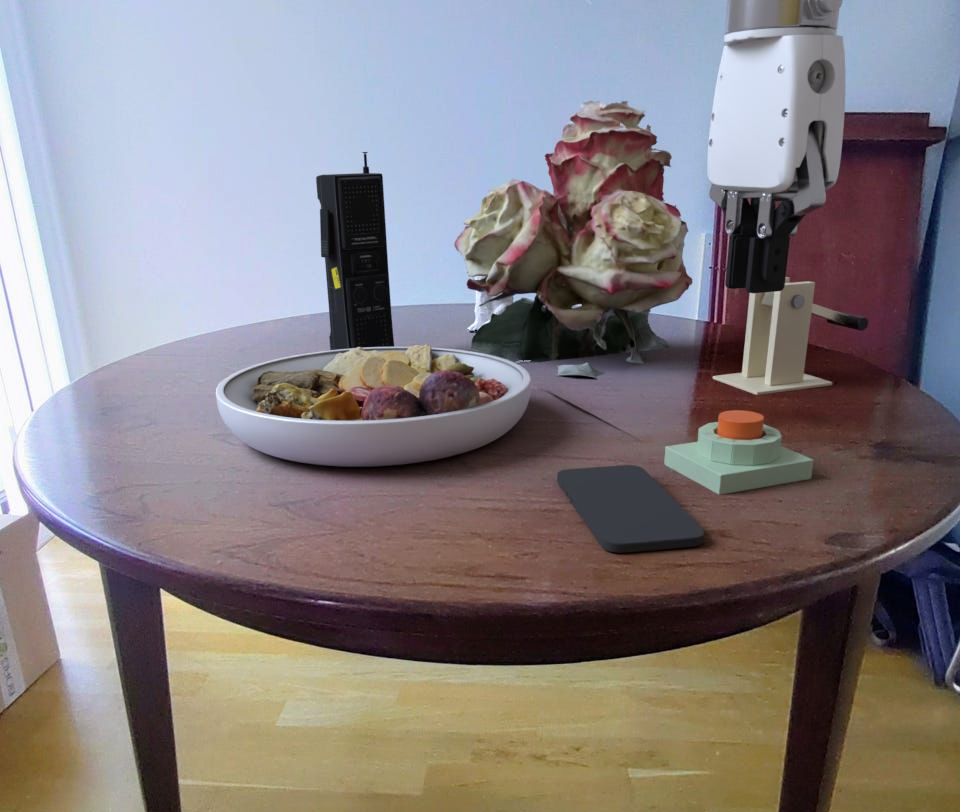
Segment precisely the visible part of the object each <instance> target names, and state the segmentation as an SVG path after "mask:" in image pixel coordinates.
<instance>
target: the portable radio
mask: <svg viewBox="0 0 960 812" xmlns="http://www.w3.org/2000/svg"><path fill="white" fill-rule="evenodd" d="M361 153H362V154H363V162H364V163H363V164H364V165H363V166H362V172H360V173H357V172H356V173H332V174H331V173H330V174H319V175H317V176H315V182H316V195H317V197H316V198H317V200H318V201H319V204H320V209H319V226H320V227H319V228H320V257H321V258H324V264H325V275H326V290H327V301H328V314H329V316H328V317H329V328H330V329H329V330H330V333H329V337H328V339H329V350H339V349H350V348H357V347H362V348H366V347H395V340H394V339H395V338H394V328H393V327H394V326H393V315H392V303H391V302H392V301H391V289H390V288H391V287H390V274H389V258H388V243H387V241H388V240H387V227H386V226H387V225H386V210H385V194H384V177H383V176H384V175H383V173H381V172H380V173H379V172H374V173H373V172H370V167H369V166H368V157H367V154H368V153H369V151H362V152H361Z"/></svg>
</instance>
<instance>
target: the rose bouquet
mask: <svg viewBox="0 0 960 812" xmlns="http://www.w3.org/2000/svg"><path fill="white" fill-rule="evenodd" d="M628 103H629V101H628V100H625V101H624V100H623V101H620V102H612V103H611V102H610V104H608V103H603V102H602V101H601V100H596V101H593V100H588V101H585V102H583V103H579V106H580V107H579V110H578V111H576V113H575V114H573V115H571V116H570V118H569V121H568V122H567V123H566V124H565V125H564V127H563V129H562V134H561V137H562V138H561V139H559V140H558V141H557V142H556V143H555V146H554V152H553V151H552V152H551V153H545V154H544V160H545V162H546V165H547V167H548V170H547V172H548V173H547V174H548V176H549V177H550V182H551V186H552V191H553V193H551V192H549V191H548V190H546V189H540V188H538V187H536V185H533V184H532V183H530V182H528V181H525V180H522V179H517V178H512V179H511V180H509V181H507V182H506V183H503V184H502V185H500V186H497V187H493V188H492V189H489V190H488V191H487V192H488V193H487V195H486V196H485V197H484V198H482V200H481V203H480V206H479V211H478V212H477V213H476V214H474V215H473V216H472V217H469V218H467V219H466V220H464V221H463V222H462V224H463V225H466V226H464V229H463V231H462V232H460V233H459V235H458V236H457V237H456V239H455V240H454V248H455V250H456V251H457V252H459V254H460V253H461V254H462V255H461V254H460V255H461V257H462V259H463V261H464V263H465V268H466V274H467V277H470V278H468V279H467V281H466V288H467V289H469V290H473V291H476V290H477V291H478V292H483V291H486V292H488V293H487V296H490V297H492V296H497V295H499V294H500V293H502V294H501V295H499V296H497V297H495V298H493V299H490V300H488V301H486V302H485V303H483V304H480V305H479V306H483V305H484V304H486V303H488V302H492V301H495V300H497V301H499V300H503V299H506V298H508V297H511V296H513V297H514V296H516V295H527V294H536V295H535V296H534V298H533V299H534V300H533V299H530V298H527V297H520V299H518V300H515V301H513V303H512V304H511V305H508V306H506V309H505V310H504V311H503V312H502V313H501V314H500V315H496V314H494V313H493V314H492V315H491V320H490V322H489V323H486V324H484V325H482V326H481V327H480V328H479V329H478V330H477V331H475V334H474V335H473V336H472V339H471V343H470V344H471V345H470V349H469V351H472V352H478V353H483V354H488V355H493V356H496V357H500V358H503V359H506V360H509V361H512V362H516V361H519V360H523V361H524V360H531V361H530V362H520V363H516V364H518V365H526V364H535V363H543V362H545V363H546V362H554V361H562V360H572V359H581V358H590V357H601V356H611V355H618V354H628V353H631V355H630V356H628V357H627V358H626V362H628V363H632V364H633V363H635V364H646V363H647V362H648V358H646V357H645V356H643V354H642V353H640V352H645V351H646V352H647V351H655V350H656V351H657V350H664V349H665V350H666V349H668V348H670V347H669V345H668V343H667V342H668V341H667V340H666V339H664V338H663V337H660V336H658V335H657V334H656V332H654V331H653V330H652V328H651V326H650V323H649V314H650V313H651V309H653V308H656V307H659V306H663V305H666V304H670V303H673V302H676V301H678V300H679V299H681V297H682V296H683V294H684V293H686V291H687V290H689V288H690V286H691V285H692V284H693V278H692V277H691V276H690V275H689V274H688V273H687V268H686V266H685V264H684V263H685V262H684V258H683V254H684V247H685V238H686V235H687V234H688V232H689V228H688V225H687V222H685V221H683V220H682V218H681V217H682V215H681V211H680V210H679V209H678V207H677V204H675V205H673V204H670V203H667V202H665V201H666V200H665V198H664V194H665V193H664V181H665V176H664V173H665V167H669V168H672V166H671V160H672V158H673V156H672V154H671V153H670V152H669V151H668V150H664V149H658V148H653V146H655V145H657V143H659V141H657V138H658V136H657V135H656V134H654V133H653V132H652V131H651V130H652V129H651V128H652V126H651V125H649V124H647V125H646V129H645V128H642V127H640V126H639V124H640V123H641V121H642V120H643V119H644V118H645V117H646V114H645V112H646V110H645V109H643V108H642V109H639V108H638V107H634V106H633V107H632V106H629V105H628ZM621 124H622V125H621ZM475 276H486V277H485V278H483V279H481V280H474V279H473V278H472V277H475ZM471 278H472V279H471ZM577 305H578V306H577ZM579 305H581V306H579ZM574 306H577V307H574ZM556 367H557V368H558V369H557V373H556V374H555V377H557V376H558V377H559V376H584V377H590V378H593V379H595V380H596V381H598V377H599V376H603V375H605V374H606V373H605V372H603V371H601V370H598V369H596V368H595V367H594V366H592V365H591V363H590V362H585V363H583V364H561V365H556Z"/></svg>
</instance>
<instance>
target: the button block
mask: <svg viewBox="0 0 960 812" xmlns="http://www.w3.org/2000/svg"><path fill="white" fill-rule="evenodd" d="M717 429H718V421H714V422H708V423H706V424H704V425H702V426H701V427H699V428H698V431H697V432H698V434H697V441H693V442H687V443H680V444H673V445H666V446H665V448H664V462H663V463H664V466H666V467H668V468H670V469H671V470H674V471H675V472H677V473H679V474H680V475H682V476H684V477H686V478H687V479H690V480H691V481H693V482H696V483H697V484H699V485H701V486H703V488H706V489H708V490H710V491H711V492H713V493H716V495H725V494H726V495H727V494H732V493H737V492H742V491H749V490H755V489H759V488H766V487H772V486H778V485H784V484H789V483H795V482H800V481H806V480H811V479H812V474H813V468H814V459H812V458H810V457H808V456H806V455H803V454H800V453H799V452H797V451H793V450H792V449H789V448H787V447H784V446H782V440H783V436H782V434H781V432H780V431H779V429H777V428H775V427H772V426H769V425H767V424H765V423H764V424H763V433H762V438H760V439H753V440H735V439H729V438H724V437H721V436H719V435H717Z"/></svg>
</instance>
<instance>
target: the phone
mask: <svg viewBox="0 0 960 812" xmlns="http://www.w3.org/2000/svg"><path fill="white" fill-rule="evenodd" d="M556 482H557V484H558V486H559V487H560V489H561V490H562V492H563V493H564V495H565V496H566V497H567V499H568V500H569V502H570V503H571V505H572V506H573V508H574V509H575V510H576V512H577V514H578V515H579V516H580V518H581V519H582V520H583V522H584V524H585V525H586V526H587V528H588V530H589V531H590V532H591V534H592V535H593V536H594V538H595V539H596V541H597V542H598V544H599V545H600V547H601V548H602V549H604V550H605V551H607V552H611V553H615V554H619V553H620V554H623V553H624V554H625V553H638V552H639V553H640V552H649V551H661V550H673V549H674V550H675V549H683V548H685V549H686V548H693V547H698V546H702V545H703V544H704V543H705V534H706V532H705V530H704V528H702V527H701V526H700V525H699V524H698V522H696V521H695V520H694V518H692V516H690V515H689V513H688V512H687V511H685V509H684V508H683V507H682V506H680V504H679V503H678V502H677V500H675V499H674V498H673V497H672V496H671V495H670V494H669V493H668V492H667V491H666V490H665V489H664V488H663V487H662V486H661V485H660V484H659V483H658V482H657V481H656V479H654V478H653V477H652V475H651V474H649V472H648V471H647V470H646V469H644V467H641V466H639V465H633V464H621V465H610V466H609V465H607V466H594V467H593V466H592V467H582V468H581V467H580V468H579V467H578V468H567V469H562V470H559V471H558V472H557V473H556Z"/></svg>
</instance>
